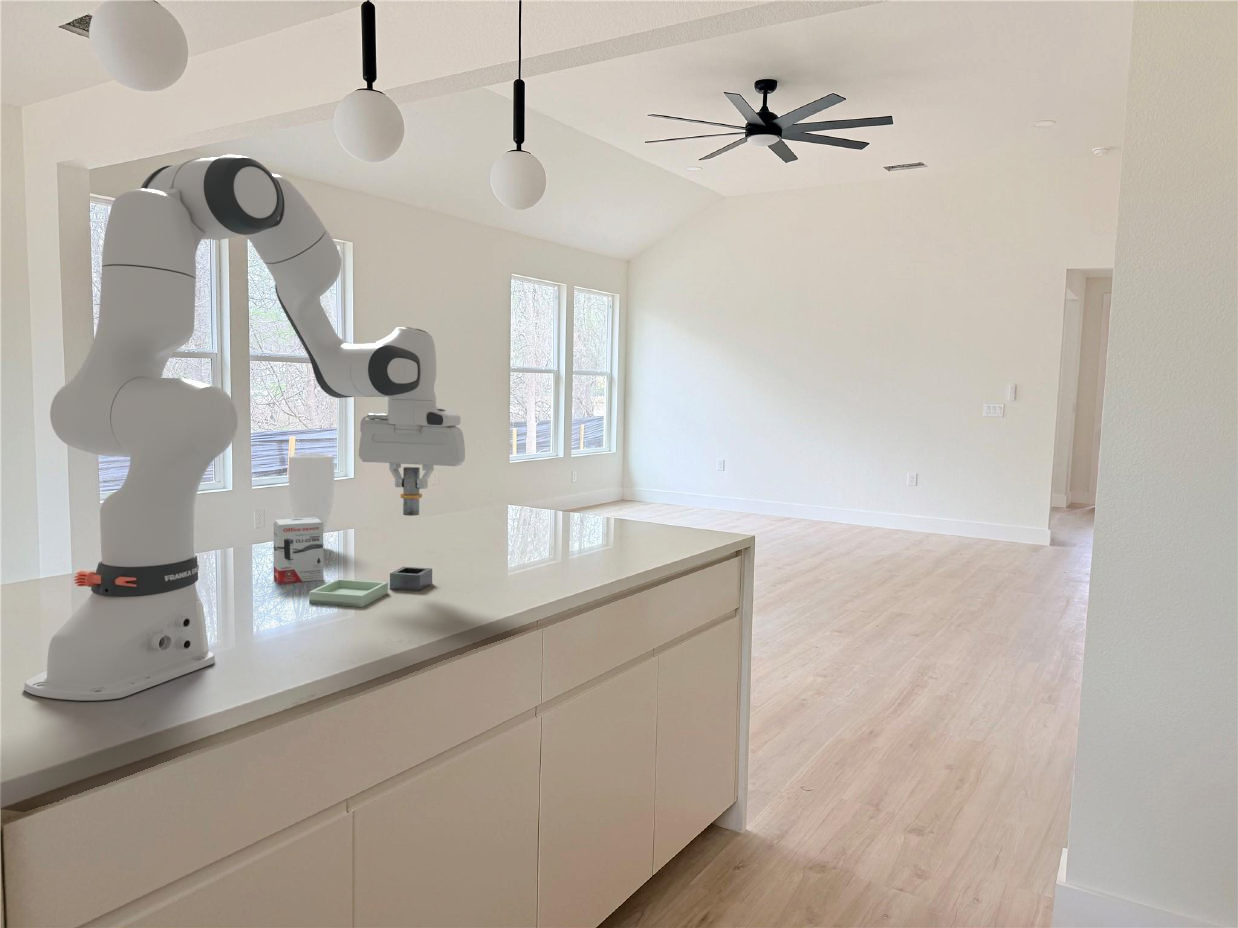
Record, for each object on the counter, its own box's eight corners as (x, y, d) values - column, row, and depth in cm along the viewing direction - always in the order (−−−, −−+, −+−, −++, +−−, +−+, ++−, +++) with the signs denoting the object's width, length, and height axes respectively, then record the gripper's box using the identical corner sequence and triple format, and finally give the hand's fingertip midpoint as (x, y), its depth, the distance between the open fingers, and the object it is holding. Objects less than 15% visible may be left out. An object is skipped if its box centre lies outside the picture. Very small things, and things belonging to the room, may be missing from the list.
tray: (362, 606, 143) (362, 595, 143) (309, 602, 145) (309, 591, 144) (387, 592, 153) (387, 582, 152) (337, 589, 154) (337, 578, 154)
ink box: (278, 584, 157) (277, 523, 156) (273, 579, 161) (272, 519, 160) (324, 579, 161) (324, 520, 160) (318, 574, 165) (317, 516, 164)
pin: (416, 516, 154) (417, 469, 154) (396, 515, 155) (397, 468, 154) (425, 513, 158) (425, 467, 158) (405, 512, 159) (406, 466, 158)
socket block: (419, 590, 155) (419, 575, 154) (389, 588, 156) (389, 573, 155) (432, 583, 161) (432, 568, 160) (403, 581, 162) (403, 566, 161)
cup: (317, 553, 185) (316, 458, 183) (278, 549, 188) (277, 456, 186) (345, 545, 195) (344, 455, 193) (307, 541, 198) (306, 452, 196)
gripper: (352, 413, 154) (352, 486, 155) (456, 417, 150) (455, 492, 151) (368, 412, 160) (368, 483, 161) (468, 416, 156) (467, 488, 158)
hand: (411, 487), depth 156 cm, fingers closed on pin, 3 cm apart
